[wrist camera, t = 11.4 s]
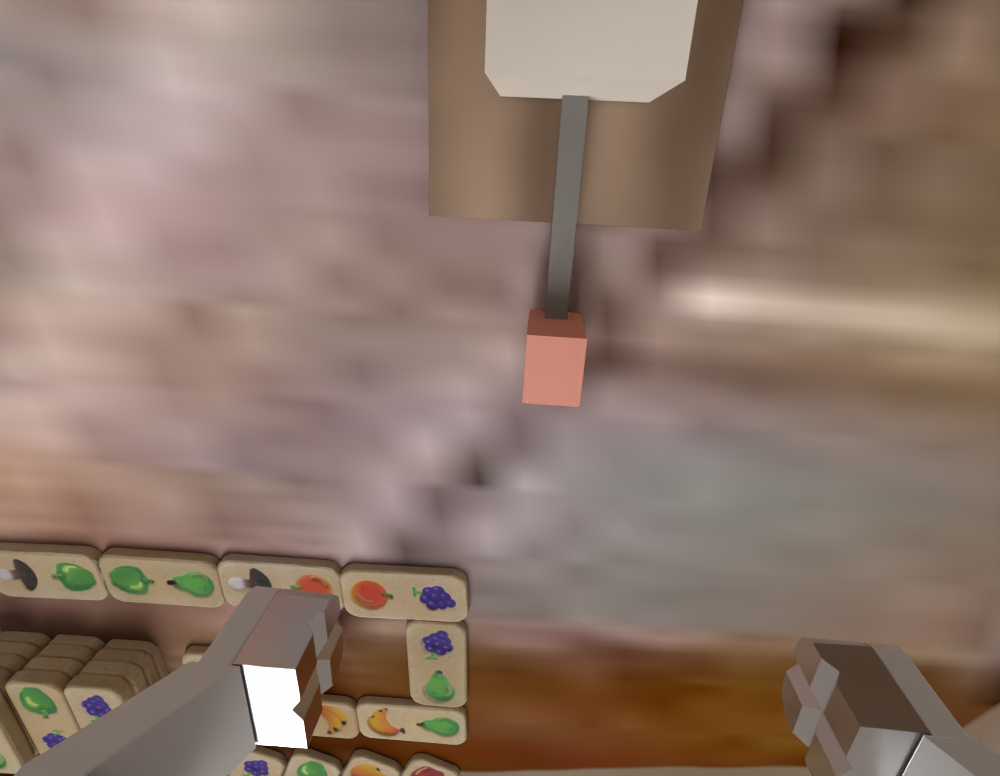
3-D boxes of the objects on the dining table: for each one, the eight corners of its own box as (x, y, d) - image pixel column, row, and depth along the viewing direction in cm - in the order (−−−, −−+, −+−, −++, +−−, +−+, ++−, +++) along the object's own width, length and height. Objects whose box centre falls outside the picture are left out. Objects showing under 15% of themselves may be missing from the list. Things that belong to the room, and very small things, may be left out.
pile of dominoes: (82, 785, 46) (25, 862, 41) (-41, 533, 36) (-138, 594, 31) (477, 820, 44) (468, 906, 39) (469, 559, 33) (455, 630, 28)
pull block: (489, 366, 26) (474, 420, 21) (509, -127, 19) (494, -248, 13) (611, 375, 26) (629, 432, 20) (679, -124, 19) (737, -247, 13)
